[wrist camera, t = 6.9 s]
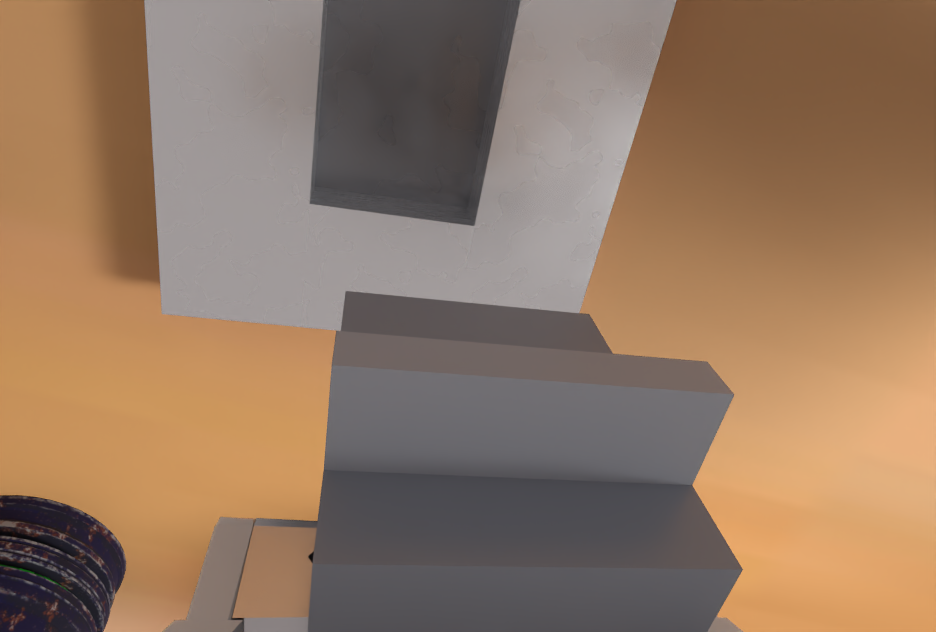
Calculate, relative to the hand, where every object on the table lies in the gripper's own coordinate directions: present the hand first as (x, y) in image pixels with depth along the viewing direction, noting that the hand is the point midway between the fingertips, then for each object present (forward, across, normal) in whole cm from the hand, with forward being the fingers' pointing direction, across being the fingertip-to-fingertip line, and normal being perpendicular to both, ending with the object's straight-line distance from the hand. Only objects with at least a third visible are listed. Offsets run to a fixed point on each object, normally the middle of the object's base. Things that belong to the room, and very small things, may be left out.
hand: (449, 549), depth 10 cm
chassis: (+19, 0, -5) cm, 19 cm away
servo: (+2, 0, 0) cm, 2 cm away
